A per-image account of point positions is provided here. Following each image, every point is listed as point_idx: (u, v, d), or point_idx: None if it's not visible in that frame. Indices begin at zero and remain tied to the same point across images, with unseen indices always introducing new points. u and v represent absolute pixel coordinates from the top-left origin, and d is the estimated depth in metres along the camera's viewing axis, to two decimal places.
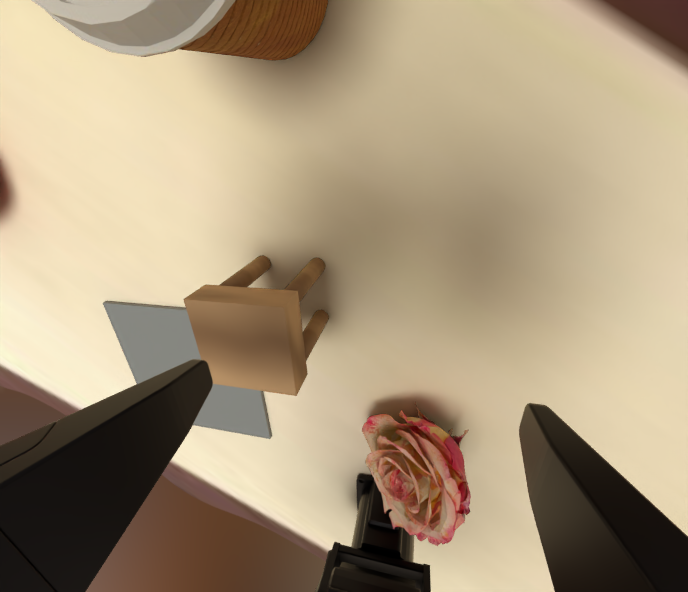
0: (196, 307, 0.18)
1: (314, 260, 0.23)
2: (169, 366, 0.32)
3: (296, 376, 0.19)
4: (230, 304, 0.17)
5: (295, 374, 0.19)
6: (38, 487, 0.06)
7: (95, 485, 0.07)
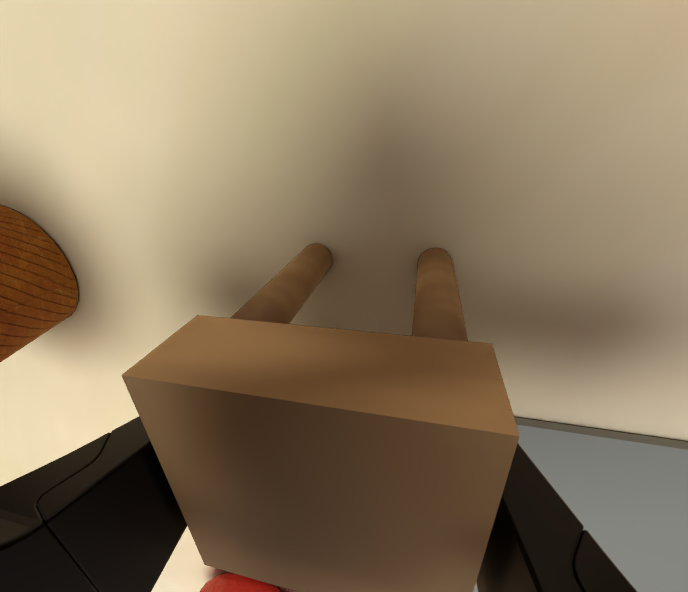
0: (214, 554, 0.08)
1: None
2: None
3: (423, 401, 0.05)
4: (176, 492, 0.07)
5: (405, 404, 0.04)
6: (101, 504, 0.06)
7: (152, 499, 0.06)
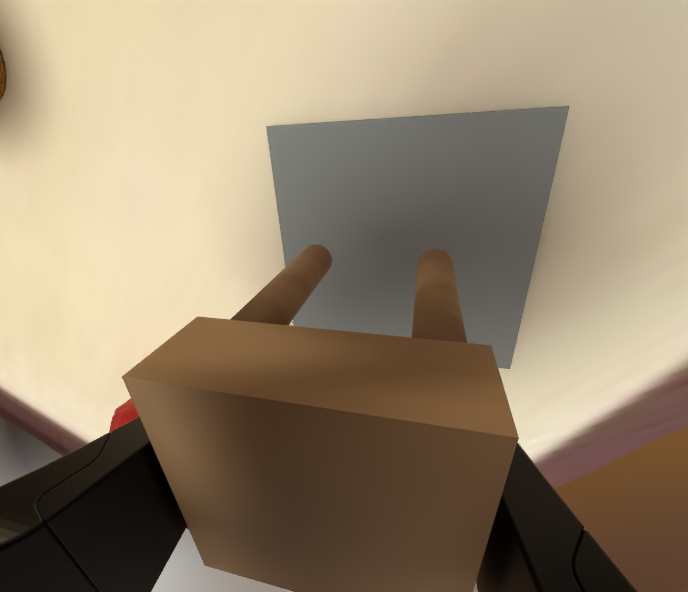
0: (214, 554, 0.08)
1: None
2: (386, 290, 0.21)
3: (423, 402, 0.05)
4: (176, 494, 0.07)
5: (405, 405, 0.05)
6: (101, 504, 0.06)
7: (151, 499, 0.06)
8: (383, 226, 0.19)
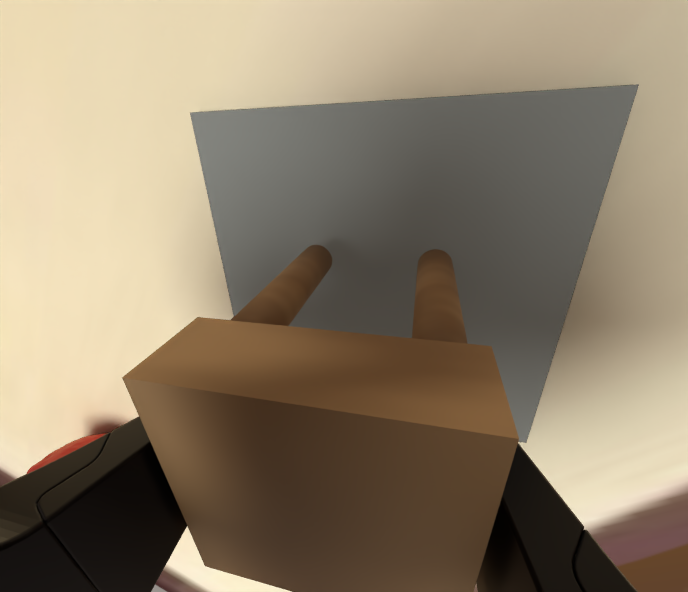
0: (215, 555, 0.08)
1: None
2: None
3: (423, 403, 0.05)
4: (177, 494, 0.07)
5: (406, 406, 0.05)
6: (101, 504, 0.06)
7: (152, 499, 0.06)
8: (357, 255, 0.14)
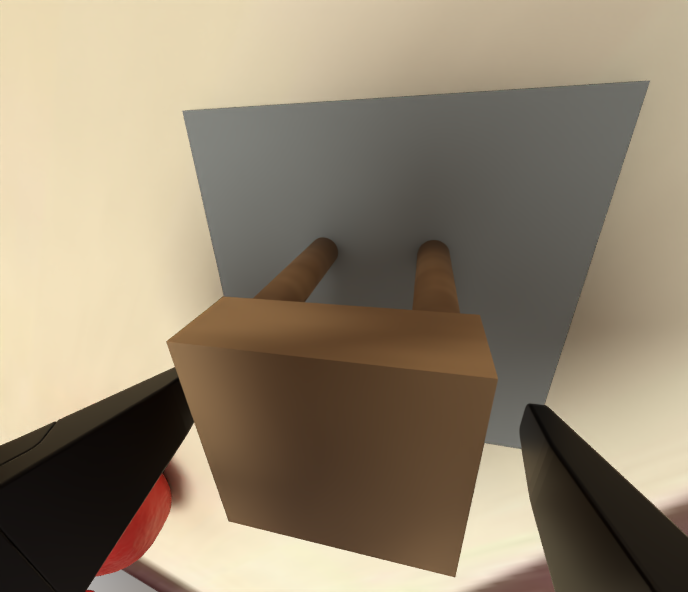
0: (238, 509, 0.09)
1: None
2: None
3: (421, 356, 0.06)
4: (206, 450, 0.08)
5: (406, 358, 0.05)
6: (38, 487, 0.06)
7: (95, 485, 0.07)
8: (356, 258, 0.13)
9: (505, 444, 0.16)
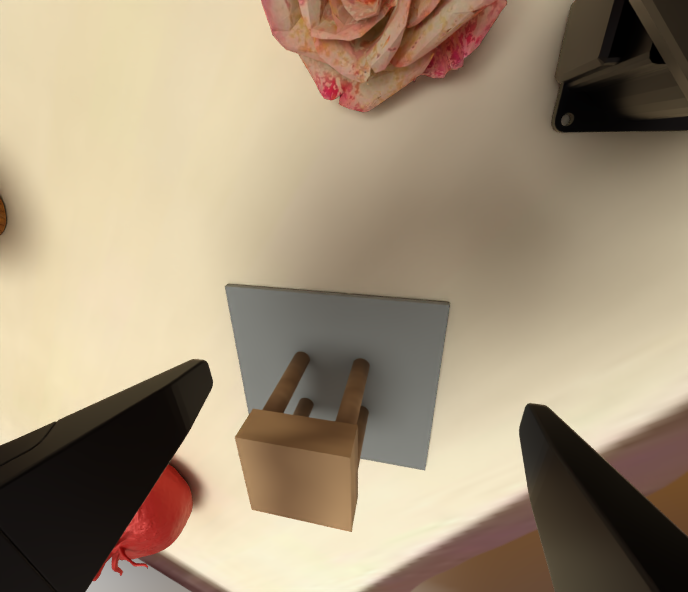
0: (257, 503, 0.19)
1: None
2: (325, 406, 0.25)
3: (328, 447, 0.16)
4: (245, 477, 0.18)
5: (323, 448, 0.16)
6: (38, 487, 0.06)
7: (95, 485, 0.07)
8: (320, 363, 0.23)
9: (411, 466, 0.26)
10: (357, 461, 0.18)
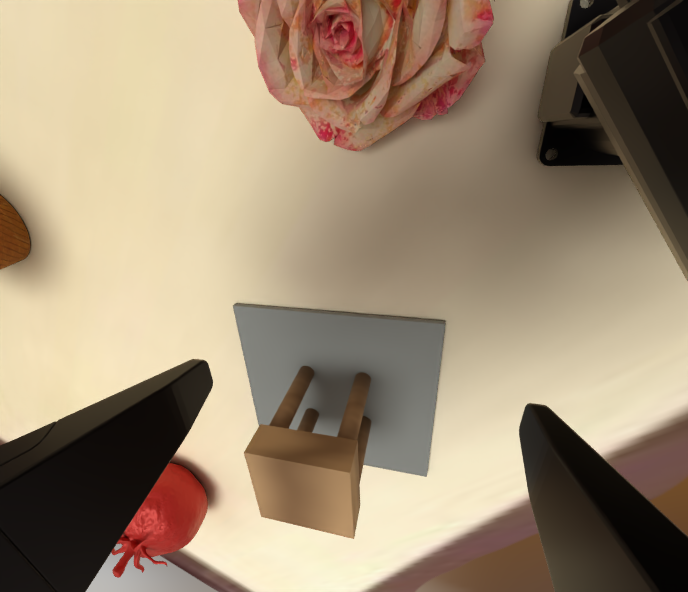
0: (266, 511, 0.20)
1: None
2: (329, 416, 0.26)
3: (330, 462, 0.17)
4: (254, 488, 0.19)
5: (325, 463, 0.17)
6: (38, 487, 0.06)
7: (95, 485, 0.07)
8: (323, 376, 0.25)
9: (413, 473, 0.27)
10: (358, 473, 0.19)
